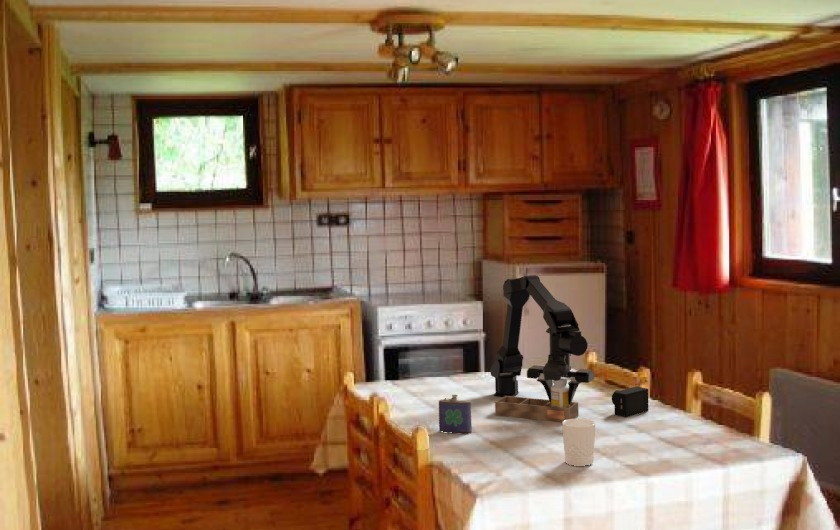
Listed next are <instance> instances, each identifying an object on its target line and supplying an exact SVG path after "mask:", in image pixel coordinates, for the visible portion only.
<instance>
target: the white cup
mask: <svg viewBox="0 0 840 530" xmlns="http://www.w3.org/2000/svg"><path fill="white" fill-rule="evenodd" d="M561 423H562V425H561V427H562V439H563V440H562V441H563V451H564V461H565V463H567V464H566V465H568V464H569V465H568V466H571V465H575V466H574V467H576V466H584V465H589V464H592V463H593V464H594V458H595V457H594V454H595V441H596V439H595V438H596V422H595V421H594V420H591V419H587V418H575V419H568V420H565V421H563V422H561ZM593 464H592V465H593ZM589 466H590V465H589ZM584 467H585V466H584Z"/></svg>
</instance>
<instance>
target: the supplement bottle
mask: <svg viewBox="0 0 840 530" xmlns="http://www.w3.org/2000/svg"><path fill="white" fill-rule="evenodd" d="M567 384H568V378H566V377H561V379H560V380H558V381H554V380H553V386H552V387H551V407H560V408H569V407H570V404H569V401H568V398H569V385H567Z"/></svg>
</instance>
